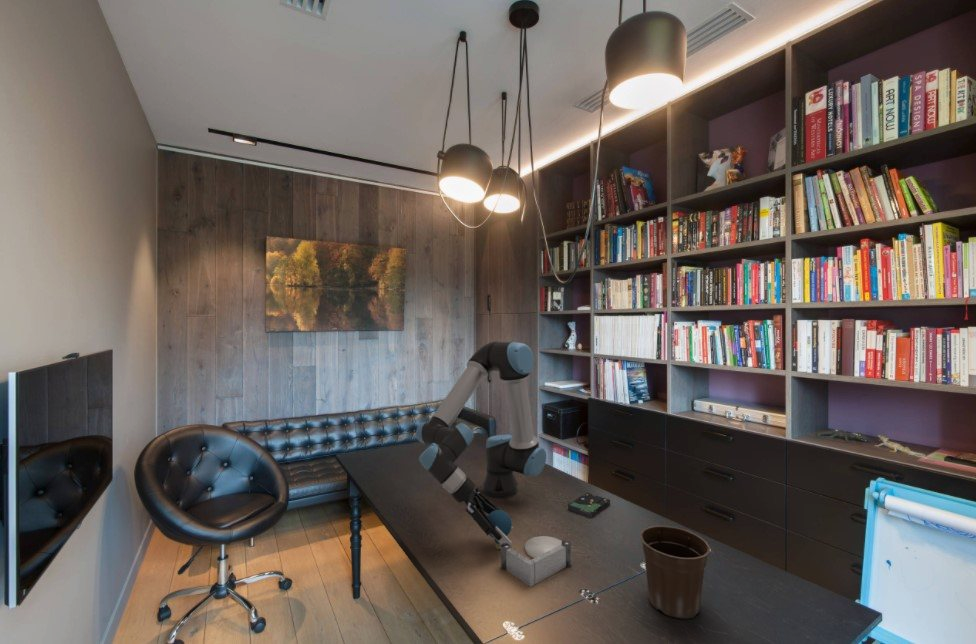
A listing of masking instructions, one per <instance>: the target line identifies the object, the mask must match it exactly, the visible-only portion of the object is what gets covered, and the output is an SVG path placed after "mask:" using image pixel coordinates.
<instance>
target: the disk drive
mask: <svg viewBox="0 0 976 644" xmlns="http://www.w3.org/2000/svg"><path fill="white" fill-rule="evenodd" d="M610 505H611V499H610V498H605V497H602V496H600V495H593V494H592V493H589V492H586V493H584V494H583V495H580V497H577V498H576V499H574V500H573V501H571V502H570V503H567V510H568V511H570V512H573V513H574V514H575V513H576V514H579V515H581V516H585V517H587V518H590V519H592V518H594V517H596V516H597V515H598V514H600V513H601V512H602V511H604V510H605V509H607V508H609V506H610Z"/></svg>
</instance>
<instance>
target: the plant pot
mask: <svg viewBox="0 0 976 644" xmlns="http://www.w3.org/2000/svg"><path fill="white" fill-rule="evenodd" d="M639 535H640V541H641V542H642V550H643V555H644V560H645V571H646V583H647V597H648V601H649V603H650V604H651V606H653V608H654V609H656V610H657V611H658V610H659V611H661V612H662V613H663V614H665V616H668V617H671V618H676V619H683V620H685V619H687V620H688V619H693V618H695V617H696V615H697V614H699V613H700V610H701V602H702V601H701V600H702V591H703V582H704V575H705V574H704V573H705V569H706V566H707V561H708V557H709V555H710V552H711V547H710V544H709V543H708V542H707V541H706V540H705V539H704V538H702V537H701V536H699V535H698V534H696V533H694V532H692V531H690V530H686V529H684V528H680V527H676V526H670V525H653V526H649V527H646V528H644V529H642V531H641V532H640V534H639Z"/></svg>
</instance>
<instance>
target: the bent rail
mask: <svg viewBox="0 0 976 644" xmlns="http://www.w3.org/2000/svg"><path fill="white" fill-rule="evenodd" d="M561 541H562V544H561V545H559V546H557V547H555V548H553V549H551V550H549V551H547V552H546V553H544V554H542V555H540V556H538V557H536V558H534V559H533V558H531V559H529V558H527V557H526V556H525V555H523V554H521V553H520V552H518V551H516V550H514V549H513V548H511V544H508V543H503V544H501V548H500V569H502V570H503V571H507V572H508V573H509V574H511V575H512V576H514V577H515V578H517V579H518V580H519V581H521V582H523V583H524V584H525V585H527V586H528V587H530V588H531V587H533V586H535V585H536V584H538V583H540V582H542V581H544V580H546V579H547V578H548V577H550V576H552V575H555V574H556V573H558V572H559V571H560V570H563V569H565V568H569V567H571V566H572V542H571V541H570V540H568V539H566V540H565V539H564V540H561Z"/></svg>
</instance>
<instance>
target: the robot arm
mask: <svg viewBox="0 0 976 644" xmlns="http://www.w3.org/2000/svg"><path fill="white" fill-rule="evenodd" d="M534 363H535V357H534V354H533V351H532V349H531V348H530V346H528V345H527V344H525V343H523V342H517V341H495V340H494V341H489V342H488V343H485V344H484V345H483V346H481V347H479V349H478V350H476V352H474V353H473V355H472V356H471V357H470V358H469V359H468V361H467V362H466V368H465V370H464V371H463V372H462V374H461V375H460V376H459V378H458V379H457V381H456V383H455V384H454V385H453V387H452V388H451V390H450V391H449V392H448V393H447V395H446V396H445V398H444V400H443V401H442V403H440V405H439V406H438V408H437V409H436V410H435V412H434V413H433V415H432V417H431V418H430V420H428V421H423V422H422V423H419V425H418V426H417V427H416V431H415V437H416V439H417V440H418V442H420V443H422V444H423V445H426V446H428V447H427V448H426V449H425V450H424V451H423V452H422V453H421V454H420V455H419V457H418V461H419V462H420V464H421V465H422V467H424V469H425V470H426V472H428V473H429V474H430V475H431V476H432V478H434V479H435V480H436V481H437V482H438V483H439V484H440V485H441V486H442V489H444V490H446V492H448V493H449V494H451V497H452V498H453V499H454V500H455V501H456V502H457V503H459V504H461V503H462V502H464V503H465V506H466V509H465V511H466V513H467V514H469V516H471V518H472V519H473V520H474V521H475V522H476V523H477V525H478V526H479V527H480V529H481V530H482V531H483V532H484V533H485V535H487V536H490V535H489V534H491V535H492V536H493V537H494V538H495V539H496V540H497V541H498V542H499V543H500V544H503V543H508V544H510V545H511V544H512V541H511V539H509V538H508V535H507V536H506V535H505V534H504V533H503V532H502V531H501V530H500V529H499V528H498V527H497V526H496V527H495V526H494V524H493V523H492V522H491V520H490V519H489V517H488V515H489V514H490V513H491V512H492V511H495V510H501V508H499V507H497V505H495V504H494V502H493V501H491V500H490V499H489V498H488V497H491V498H497V499H498V498H499V499H501V498H503V499H504V498H509V497H514V496H516V494H518V492H519V485H518V482H517V478H516V474H515V473H518V474H522V475H524V476H529V477H536V476H538V475H540V474H541V473H542V471H543V469H544V467H545V465H546V461H547V451H546V450H545V448H543V447H542V446H540V444H539V438H538V437H537V436H535V434H534V429H533V421H532V420H533V419H532V413H531V412H532V411H531V406H530V399H529V391H528V382H527V379H528V378H529V376H530V372H532V370H533V368H534ZM492 372H498V374H499V375H498V376H499V379H500V380H501V381H502V382H503V384H504V388H505V396H506V403H507V409H508V410H507V411H508V417H509V424H510V432H511V434H497V435H492V436H490V437H488V438H487V439H486V446H485V454H486V455H485V462H486V464H485V465H486V469H485V470H486V471H485V472H486V473H485V477H484V480H483V482H482V488H481V489H482V492H481V490H480V489H479V488H477V487H476V484H475V483H474V482H473V481H472V479H471V478H470V477H467V474H466V473H465V472H464V471H463V470H462V469H461V468H460V467H459V466H458V465H457V464H456V463H455V462H456V460H458V458H459V457H460V456H461V455H462V454H463V452H464V451H465V450H466V449H467V448H469V445H470V444H471V443H472V441H473V440H474V438H475V435H474V433H473V430H472V429H471V428H470V426H469V425H468V424H467V425H466V424H465V423H463V422H462V423H457V424H456V425H455V426H454V427H453V428H452V424H453V423H454V422H455V420H456V419H457V417H458V416H459V415H460V413H461V411H462V410H463V408H464V407H465V405H466V404H467V403H468V401H469V400H470V399H471V397H472V395H473V393H475V391H476V389H477V388H478V387H479V385H480V383H481V382H482V380H483V379H486V378H488V376H489V374H490V373H492ZM487 496H488V497H487ZM487 514H488V515H487ZM513 528H514V527H513V526H512V528H511V531H512V529H513ZM493 537H492V538H493ZM494 538H493V539H494Z"/></svg>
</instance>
